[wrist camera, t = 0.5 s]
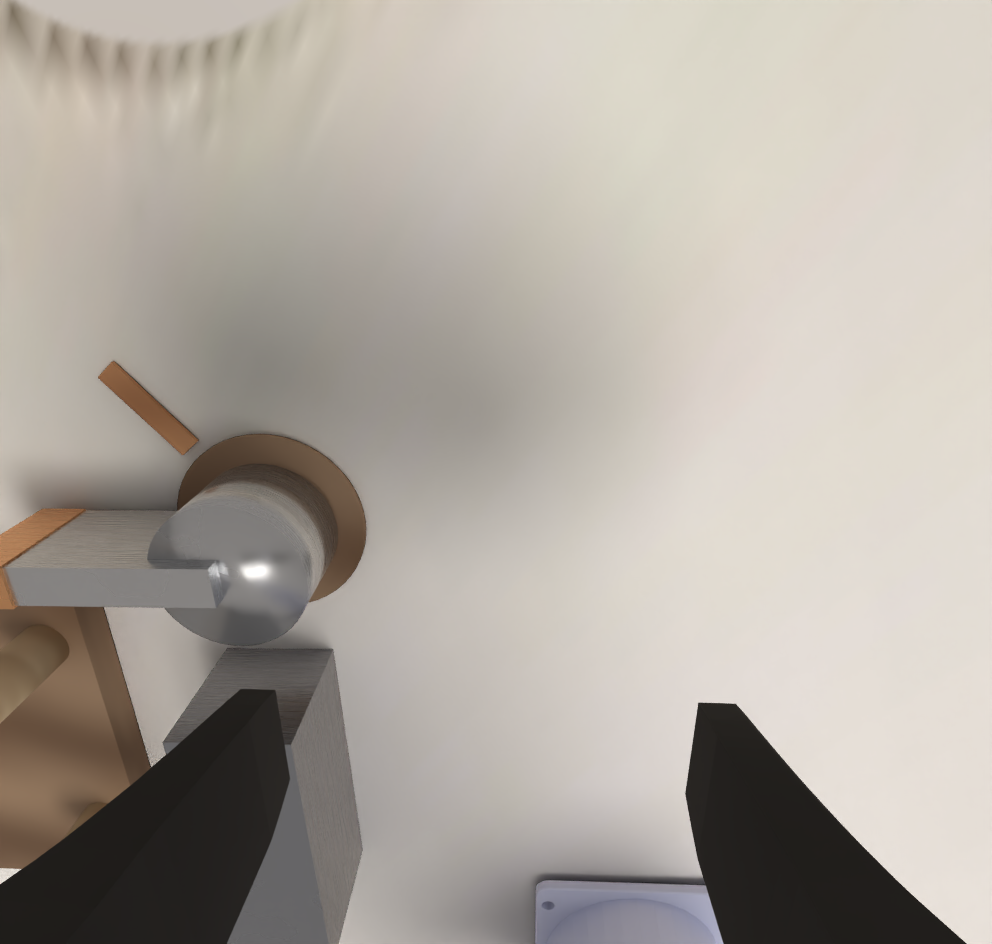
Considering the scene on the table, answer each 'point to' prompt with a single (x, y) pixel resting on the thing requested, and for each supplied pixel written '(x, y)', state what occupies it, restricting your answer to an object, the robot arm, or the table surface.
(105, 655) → the walnut board
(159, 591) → the silver lever knob
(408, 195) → the table surface
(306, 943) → the steel bar
